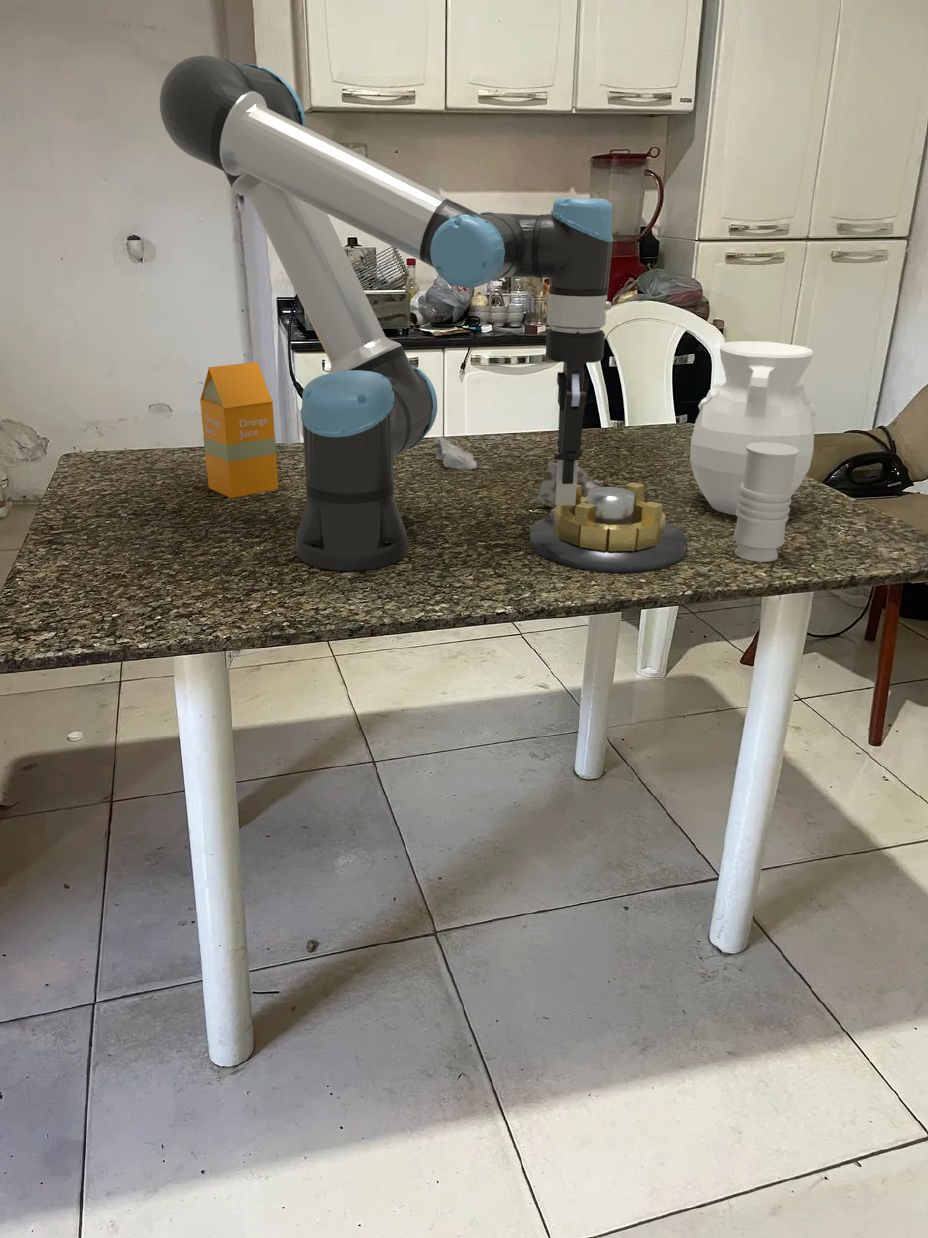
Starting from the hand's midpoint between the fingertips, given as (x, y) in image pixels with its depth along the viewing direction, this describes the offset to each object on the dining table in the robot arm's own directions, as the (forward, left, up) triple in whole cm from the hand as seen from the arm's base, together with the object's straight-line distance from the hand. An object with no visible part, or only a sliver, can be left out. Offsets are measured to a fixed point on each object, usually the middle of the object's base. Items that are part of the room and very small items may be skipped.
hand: (565, 503), depth 132 cm
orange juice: (-48, +29, -6) cm, 56 cm away
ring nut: (+6, -1, -4) cm, 8 cm away
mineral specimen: (-12, +44, -7) cm, 46 cm away
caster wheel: (+6, +18, -6) cm, 20 cm away
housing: (+6, -1, -6) cm, 9 cm away
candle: (+26, -6, -6) cm, 28 cm away
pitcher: (+32, +15, -6) cm, 36 cm away
